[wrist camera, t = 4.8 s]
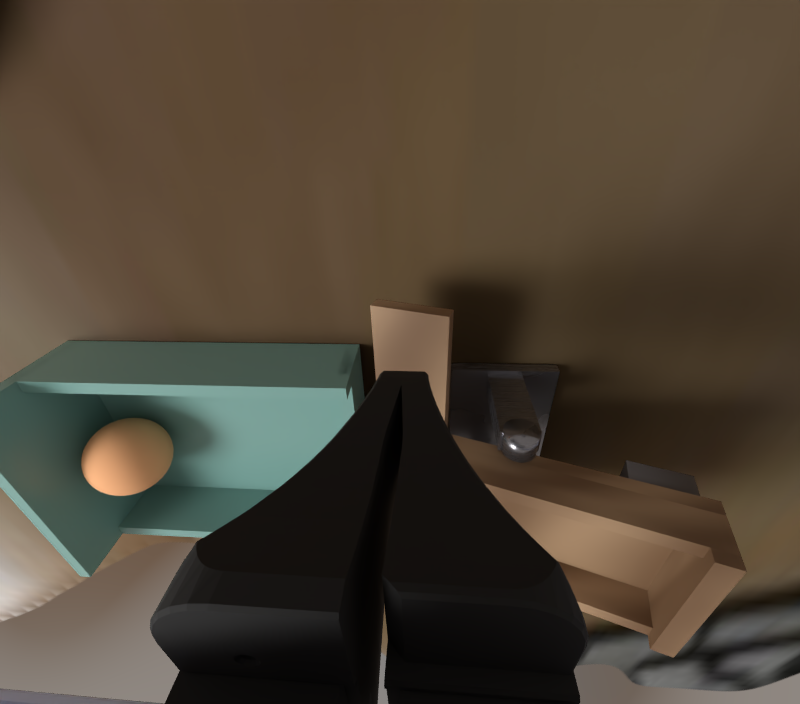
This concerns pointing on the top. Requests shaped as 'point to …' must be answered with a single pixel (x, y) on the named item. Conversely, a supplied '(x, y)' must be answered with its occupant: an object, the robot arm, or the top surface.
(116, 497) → the tray
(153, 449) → the ball
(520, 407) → the launcher stand
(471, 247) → the top surface
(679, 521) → the chute
